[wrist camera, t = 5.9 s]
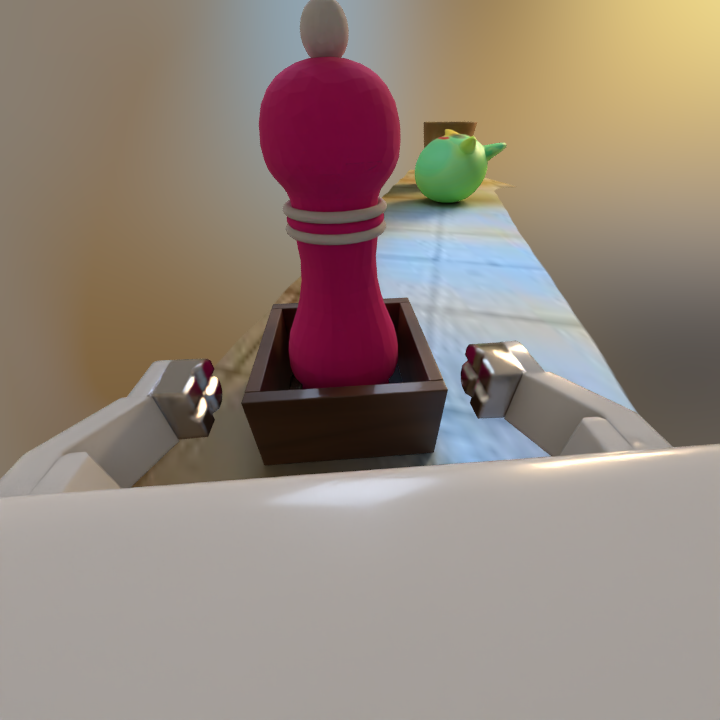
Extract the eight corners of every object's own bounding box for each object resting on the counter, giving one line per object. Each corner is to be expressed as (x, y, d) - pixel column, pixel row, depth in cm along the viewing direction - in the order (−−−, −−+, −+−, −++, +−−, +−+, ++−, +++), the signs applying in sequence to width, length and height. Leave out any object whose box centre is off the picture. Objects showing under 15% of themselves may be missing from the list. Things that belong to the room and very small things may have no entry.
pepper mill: (341, 456, 19) (291, -80, 7) (280, 397, 23) (179, 0, 11) (414, 399, 23) (469, -10, 10) (350, 357, 27) (336, 29, 15)
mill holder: (434, 453, 19) (448, 389, 16) (264, 465, 19) (240, 403, 15) (403, 352, 27) (408, 297, 24) (284, 359, 27) (272, 303, 24)
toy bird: (438, 193, 87) (446, 128, 77) (495, 200, 77) (512, 128, 68) (399, 203, 76) (403, 130, 67) (460, 213, 67) (474, 130, 58)
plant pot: (425, 189, 91) (432, 122, 81) (413, 182, 102) (418, 121, 92) (473, 188, 92) (486, 120, 82) (456, 180, 103) (465, 120, 93)
